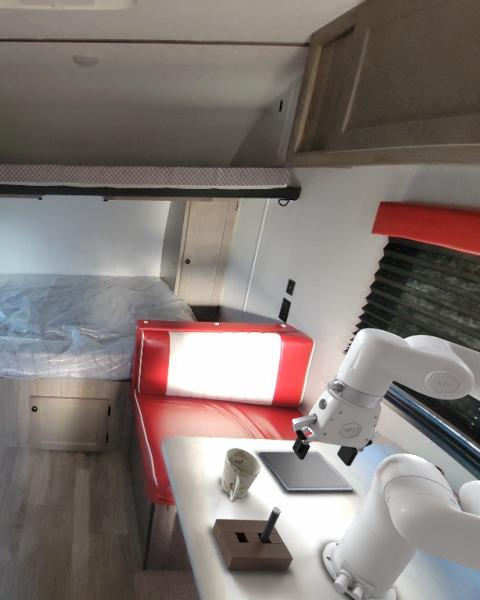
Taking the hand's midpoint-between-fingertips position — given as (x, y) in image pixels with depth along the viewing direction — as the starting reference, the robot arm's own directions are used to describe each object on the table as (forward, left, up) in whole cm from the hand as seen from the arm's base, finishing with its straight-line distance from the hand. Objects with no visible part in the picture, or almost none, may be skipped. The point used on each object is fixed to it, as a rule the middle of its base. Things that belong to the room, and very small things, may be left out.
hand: (320, 457), depth 70 cm
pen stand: (-10, +3, -25) cm, 27 cm away
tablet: (+26, +6, -25) cm, 36 cm away
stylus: (-8, +1, -25) cm, 26 cm away
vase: (+51, -16, -25) cm, 59 cm away
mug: (0, +13, -25) cm, 28 cm away
